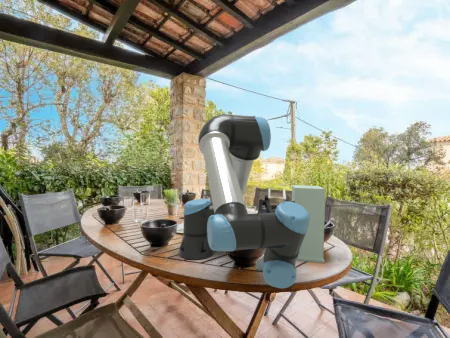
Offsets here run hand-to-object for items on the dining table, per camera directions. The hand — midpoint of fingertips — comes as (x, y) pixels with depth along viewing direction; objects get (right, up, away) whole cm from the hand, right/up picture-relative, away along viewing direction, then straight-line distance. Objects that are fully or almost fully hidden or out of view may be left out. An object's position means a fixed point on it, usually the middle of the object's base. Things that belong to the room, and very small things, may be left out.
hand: (276, 192), depth 89 cm
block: (0, -4, +2) cm, 4 cm away
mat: (+1, -29, +9) cm, 30 cm away
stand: (+16, -29, +17) cm, 38 cm away
